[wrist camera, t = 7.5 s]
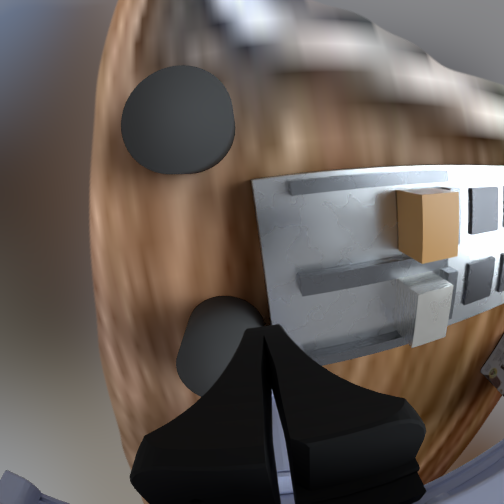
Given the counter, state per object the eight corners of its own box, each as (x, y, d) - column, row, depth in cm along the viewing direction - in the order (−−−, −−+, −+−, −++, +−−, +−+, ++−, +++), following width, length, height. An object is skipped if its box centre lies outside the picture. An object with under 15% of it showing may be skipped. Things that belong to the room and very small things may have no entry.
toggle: (398, 250, 18) (422, 263, 15) (396, 190, 17) (421, 194, 14) (432, 244, 18) (457, 256, 15) (431, 187, 17) (458, 191, 14)
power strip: (273, 345, 23) (282, 395, 17) (250, 179, 19) (254, 181, 13) (501, 286, 23) (537, 307, 17) (508, 165, 19) (550, 170, 13)
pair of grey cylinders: (197, 364, 23) (189, 404, 18) (144, 100, 17) (117, 81, 13) (268, 355, 23) (274, 396, 18) (228, 82, 17) (224, 56, 13)
